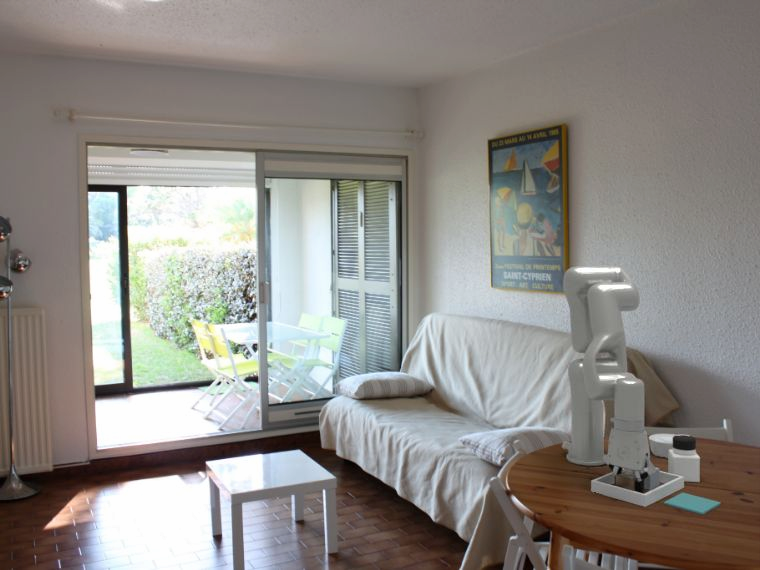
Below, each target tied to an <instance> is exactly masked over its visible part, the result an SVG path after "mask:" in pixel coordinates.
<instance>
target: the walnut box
mask: <svg viewBox="0 0 760 570" xmlns="http://www.w3.org/2000/svg"><path fill="white" fill-rule="evenodd" d="M636 480H637V478H636V474H635V473H631V472H627V471H625V472H623V473H620V474H618V475H616V486H617V487H621V488H624V489H628V490H632V491H635V481H636Z"/></svg>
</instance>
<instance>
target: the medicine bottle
mask: <svg viewBox="0 0 760 570" xmlns="http://www.w3.org/2000/svg"><path fill="white" fill-rule="evenodd" d="M675 435H676V436H674V437H673V450H672V449H669V451H668V458H667V460H668V463H667V464H668V465H667V467H668V468H667V469H668V470H667V473H670V474H675V475H679V476H683V477H684V483H685V482H686V483H687V482H688V483H700V482H701V457H700V455H699V454H698V453H697V450H696V449H697V447H696V445H697V440H696V438H695V437H693V436H692V435H688V434H675Z"/></svg>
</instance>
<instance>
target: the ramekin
mask: <svg viewBox="0 0 760 570" xmlns="http://www.w3.org/2000/svg"><path fill="white" fill-rule="evenodd" d="M676 435H677V434H674V433H655V434H652V435H649V436H648V442H649V447H650V450H651V451H650V452H651V453H652V454H653V456H655V457H658V456H659V458H662V457H665V458H664V459H668V451H669V449H672V450H673V437H674V436H676Z"/></svg>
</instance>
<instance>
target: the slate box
mask: <svg viewBox="0 0 760 570" xmlns="http://www.w3.org/2000/svg"><path fill="white" fill-rule="evenodd" d="M654 467H655V466H654ZM655 469H656V472H654V473H653V474H651V475H649V476H648V477H647V478H646V479H644V490H647V489H648V491H651V490H653V489H655V488H657V487H659V486H660V471H661V469H660V468H659V467H655ZM644 470H645V472H646V471H647V470H648V468H644ZM633 473H635V471H634V470H633Z"/></svg>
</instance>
